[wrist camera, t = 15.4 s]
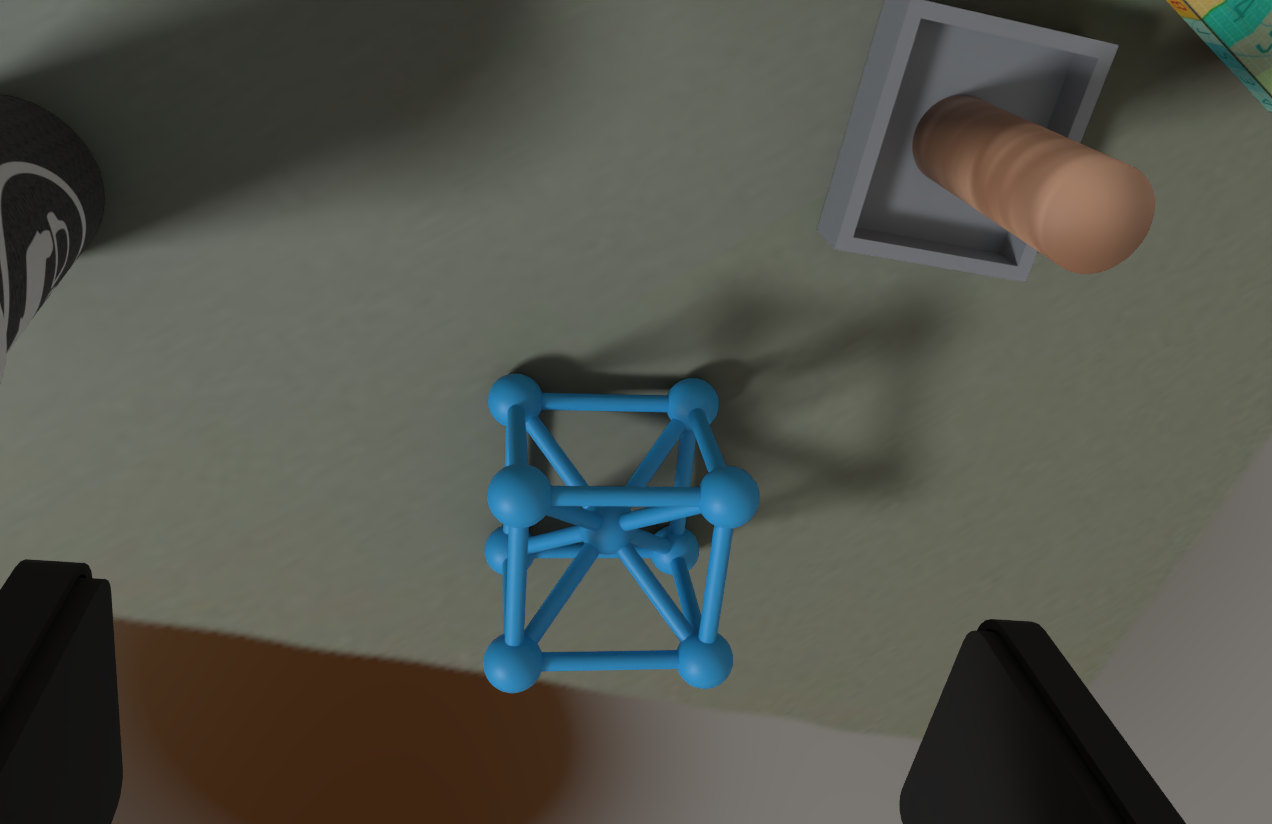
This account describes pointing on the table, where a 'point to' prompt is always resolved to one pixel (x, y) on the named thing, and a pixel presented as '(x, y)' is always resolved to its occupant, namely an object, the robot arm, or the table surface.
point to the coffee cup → (40, 210)
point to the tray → (911, 84)
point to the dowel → (1036, 183)
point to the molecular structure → (612, 531)
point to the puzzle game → (1236, 38)
